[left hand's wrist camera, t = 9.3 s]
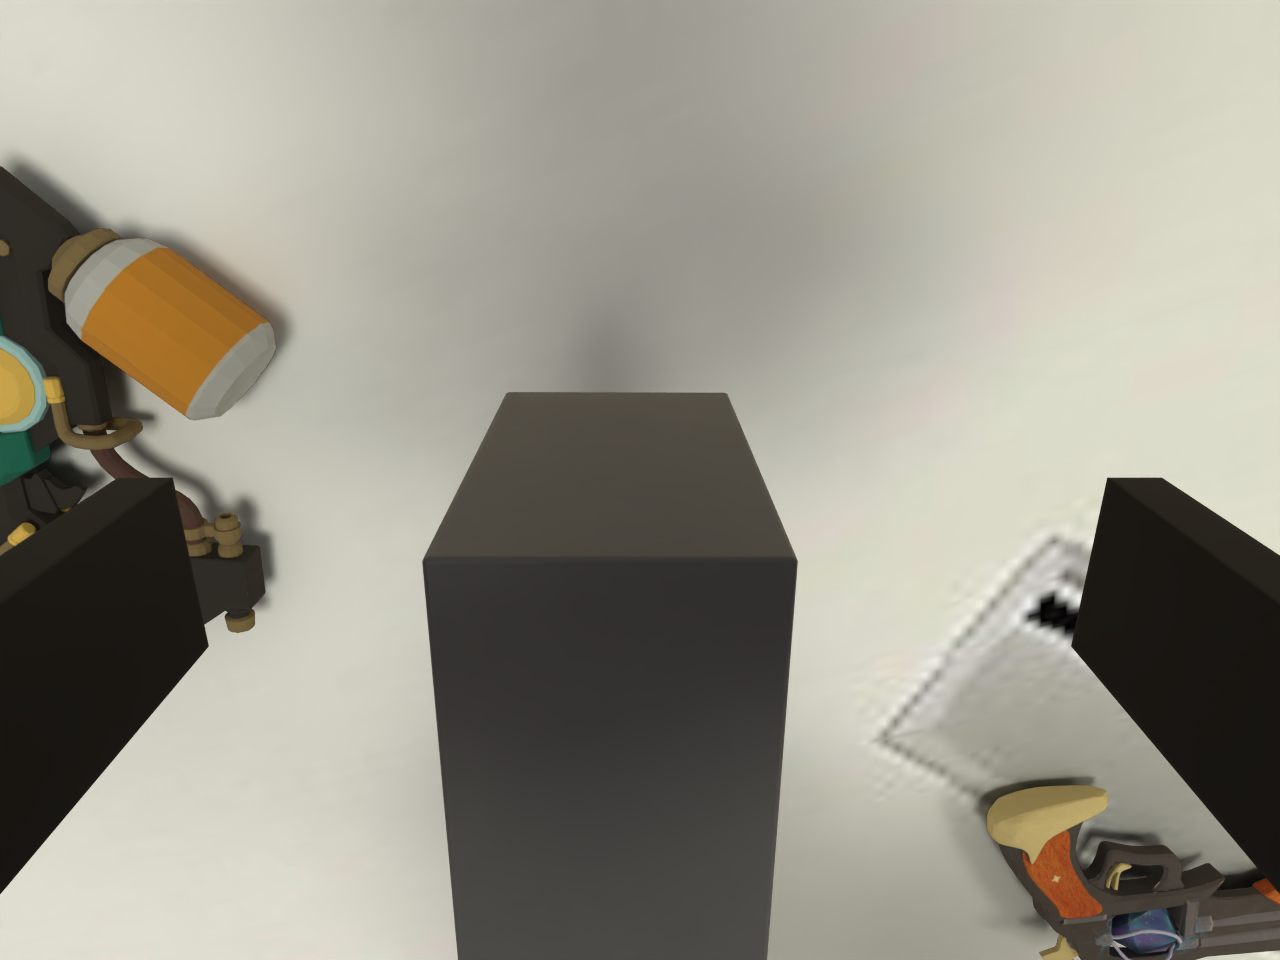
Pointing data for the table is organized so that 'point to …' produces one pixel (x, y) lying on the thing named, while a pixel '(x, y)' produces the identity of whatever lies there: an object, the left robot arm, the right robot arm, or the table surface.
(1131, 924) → the toy gun
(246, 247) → the table surface
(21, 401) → the spray gun
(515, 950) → the bar
